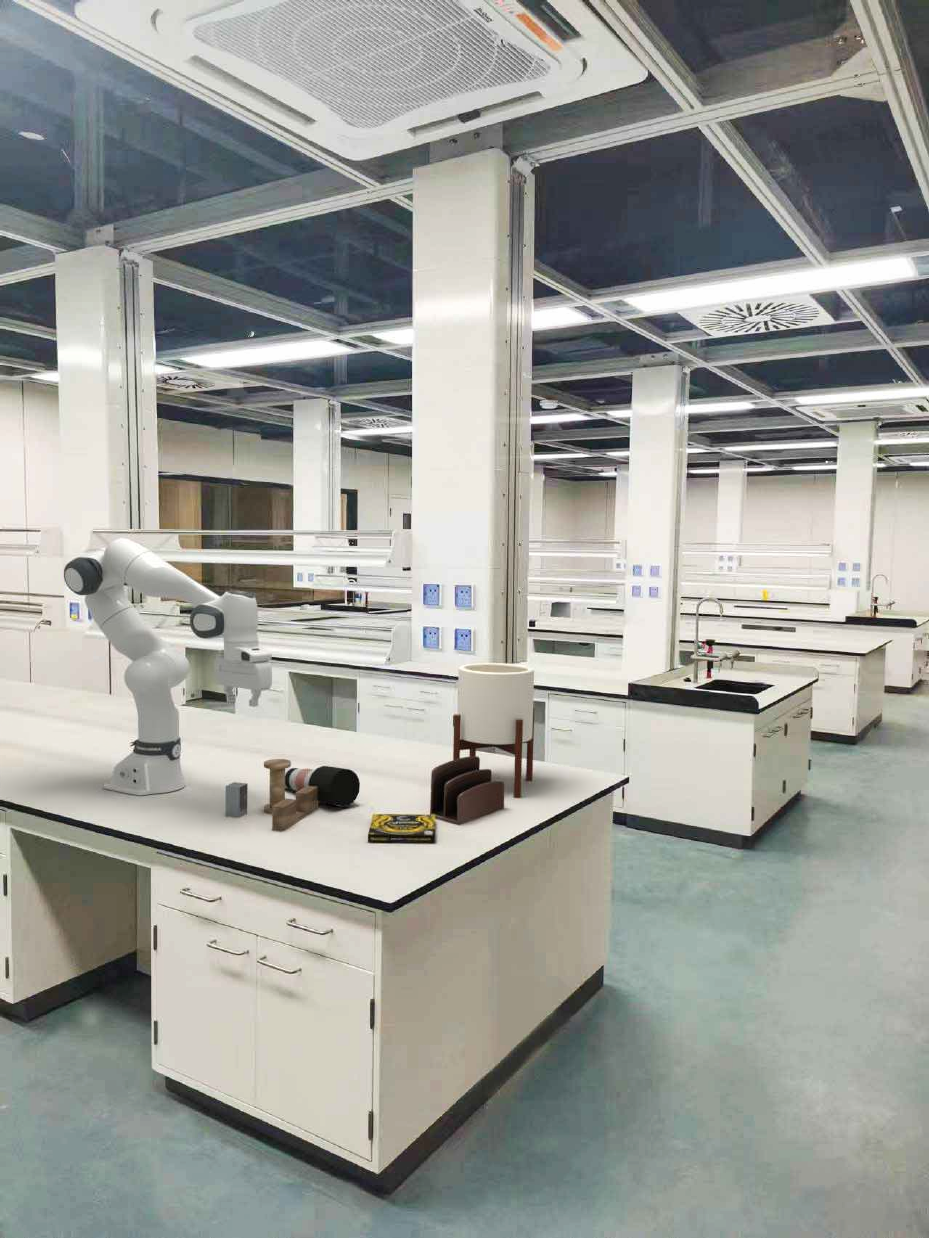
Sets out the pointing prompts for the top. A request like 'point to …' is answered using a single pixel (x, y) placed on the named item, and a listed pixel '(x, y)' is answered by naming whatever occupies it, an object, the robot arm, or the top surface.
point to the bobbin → (276, 781)
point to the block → (236, 799)
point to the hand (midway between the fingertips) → (242, 704)
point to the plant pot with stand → (496, 712)
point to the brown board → (294, 808)
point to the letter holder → (464, 791)
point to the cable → (326, 783)
